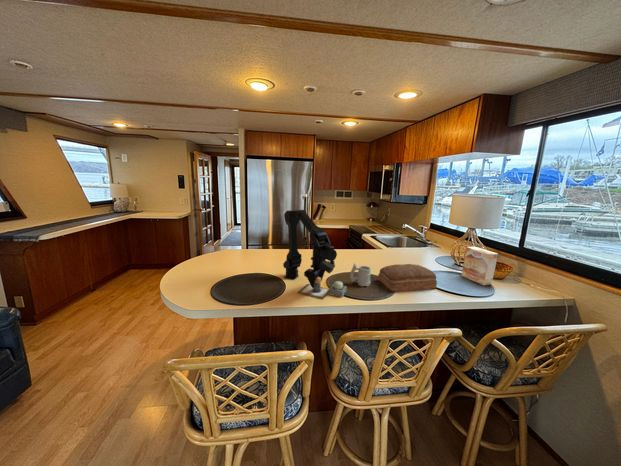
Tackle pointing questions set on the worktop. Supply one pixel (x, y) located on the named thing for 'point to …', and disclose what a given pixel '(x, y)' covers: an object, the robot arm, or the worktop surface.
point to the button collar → (337, 291)
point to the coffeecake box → (479, 265)
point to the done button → (338, 285)
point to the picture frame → (309, 291)
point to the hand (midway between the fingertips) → (316, 284)
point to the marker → (317, 285)
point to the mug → (361, 275)
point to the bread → (407, 277)
